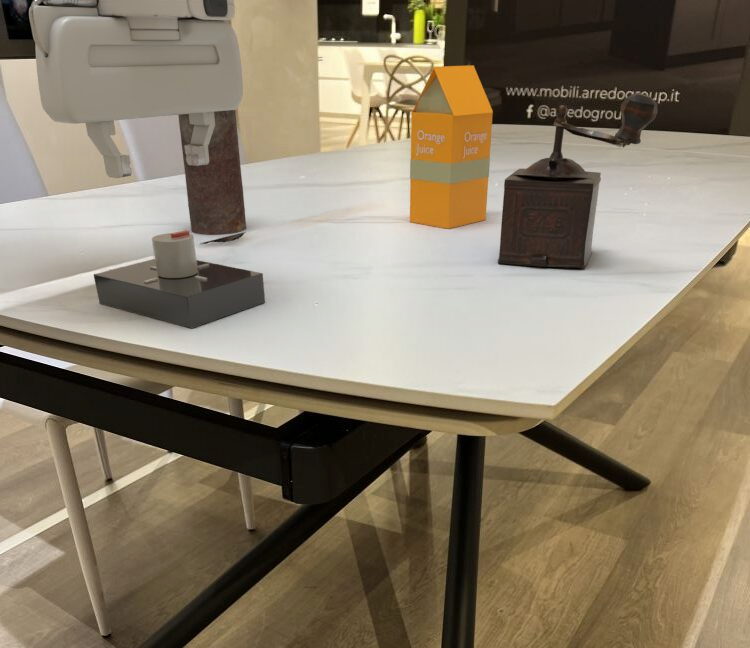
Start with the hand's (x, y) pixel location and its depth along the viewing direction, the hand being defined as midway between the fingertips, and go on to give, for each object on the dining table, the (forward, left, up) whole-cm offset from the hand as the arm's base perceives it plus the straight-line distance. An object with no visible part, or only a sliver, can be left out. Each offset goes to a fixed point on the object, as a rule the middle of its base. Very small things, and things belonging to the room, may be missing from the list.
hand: (160, 170), depth 70 cm
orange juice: (+1, +51, -13) cm, 52 cm away
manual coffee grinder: (+25, +39, -13) cm, 48 cm away
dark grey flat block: (0, 0, -13) cm, 13 cm away
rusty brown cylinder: (-18, +23, -13) cm, 31 cm away
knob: (0, 0, -9) cm, 9 cm away
